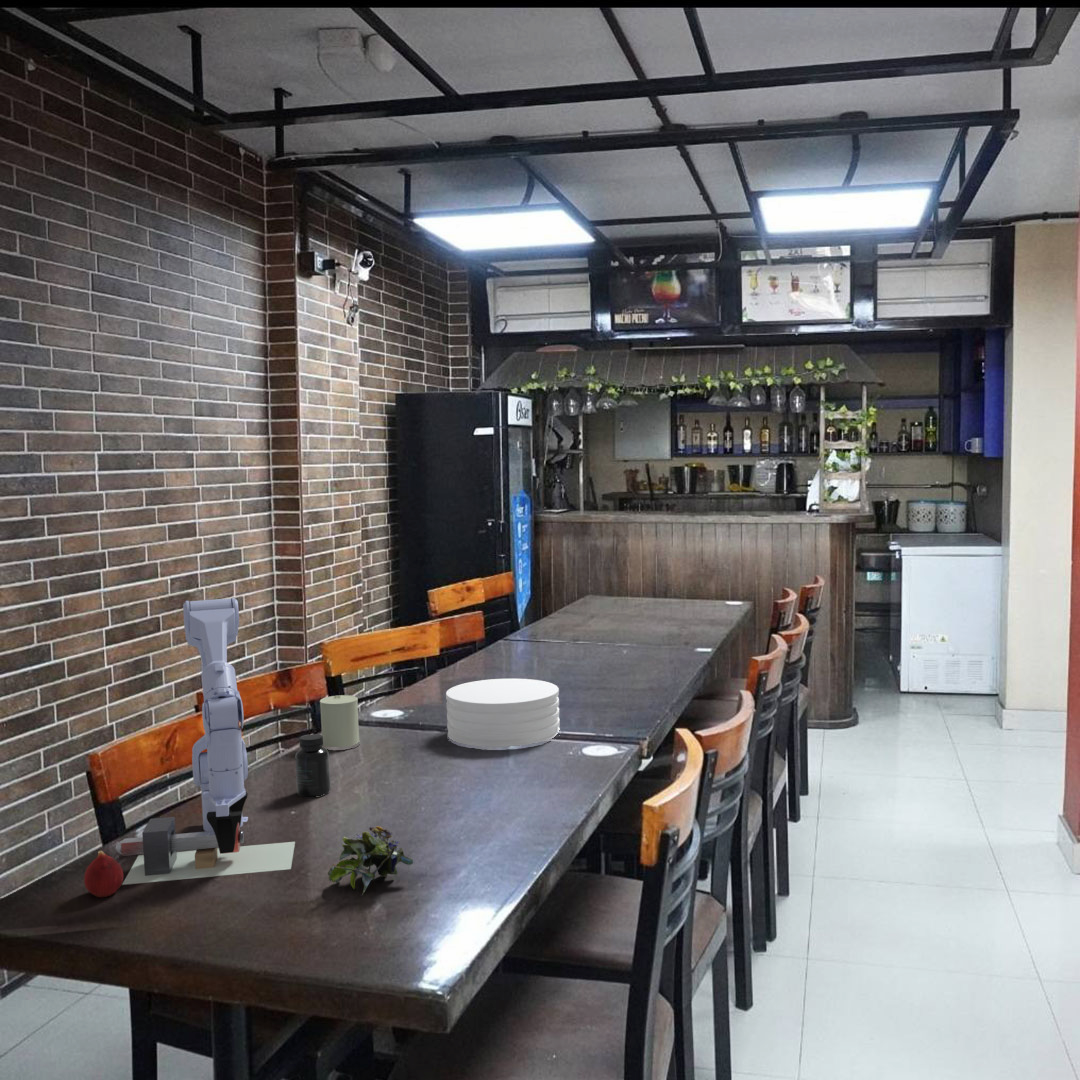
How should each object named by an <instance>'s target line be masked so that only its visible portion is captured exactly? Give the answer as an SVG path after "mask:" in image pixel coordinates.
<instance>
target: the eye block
mask: <svg viewBox="0 0 1080 1080" xmlns="http://www.w3.org/2000/svg"><path fill="white" fill-rule="evenodd" d="M175 818H176V817H175V816H167V817H156V818H150V819H149V820H148V822H147V824H146V826H145V827H144V829H143V831H142V836H141V837H143V853H144V854H143V855H144V869H145V876H149V875H159V874H170V872H171V870H172V868H173V866H174V863H175V861H176V859H177V852H178V851H172V852H170V835H172V834H176V821H175Z"/></svg>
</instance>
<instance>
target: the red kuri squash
mask: <svg viewBox="0 0 1080 1080" xmlns="http://www.w3.org/2000/svg"><path fill="white" fill-rule="evenodd" d="M97 853H98V854H97V857H96V858H94V859H93V860H92V861H91V862H90V863H89V865H88V866H87V867H86V869H85V872H84V878H83V883H84V886H85V889H86V890H87V891H88V892H89V893H90V894H91V895H94V896H95V897H97V898H108V897H111V896H112V895H114V894H115V893H116V892H117V891H118V890H119V889H120V888H121V886H122V884H123V882H124V871H123V868H122V865H121V864H120V863H119V862H118V861H117V860H116V859H115V858H114V857H112V856H110V855H108V854H106V853H105V852H104V851H103V850H99V851H98V852H97Z"/></svg>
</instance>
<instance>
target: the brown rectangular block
mask: <svg viewBox="0 0 1080 1080" xmlns="http://www.w3.org/2000/svg"><path fill="white" fill-rule="evenodd" d="M217 849H218V847H217V848H206V849H195V850H196V853H195V869H201V868H212V867H214V866H215V863H216V860H217V857H218V853H217Z"/></svg>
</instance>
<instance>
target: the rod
mask: <svg viewBox="0 0 1080 1080" xmlns="http://www.w3.org/2000/svg"><path fill="white" fill-rule="evenodd" d="M244 842H245V832H244V830H241V827H240V825H239V822H238V825H237V830H236V839H235V847H234V851H233V852H230V853H235V852H239V851H240V846H241V844H243V843H244ZM206 848H217V849H218V848H219V846H218V843H217V839H216V836H215V833H214V831H207V832H206V831H196V832H187V833H186V832H185V833H184V832H183V833H175V834H172V835H170V852H172V851H177V852H184V851H195V850H197V849H206ZM115 850H116V852H117V853H118V854H120V855H121V856H122V857H124V856H125V857H126V856H135V855H137V856H139V855H144V853H143V837H142V836H140V837H138V836H137V837H127V838H123V840H120V841H118V842H117V843H116V845H115ZM219 851H220V850H219ZM220 854H224V853H221V852H220Z"/></svg>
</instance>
